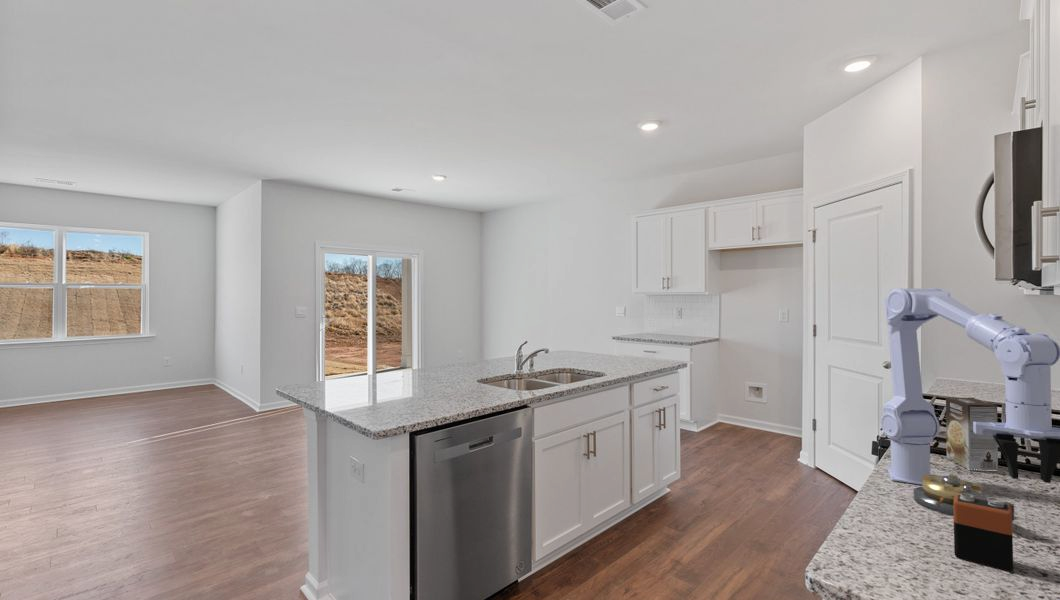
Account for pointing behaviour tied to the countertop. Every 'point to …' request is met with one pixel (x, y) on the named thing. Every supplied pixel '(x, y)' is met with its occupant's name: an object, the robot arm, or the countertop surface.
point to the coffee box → (970, 433)
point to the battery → (983, 531)
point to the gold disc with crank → (952, 489)
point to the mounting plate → (932, 502)
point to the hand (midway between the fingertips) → (1029, 479)
